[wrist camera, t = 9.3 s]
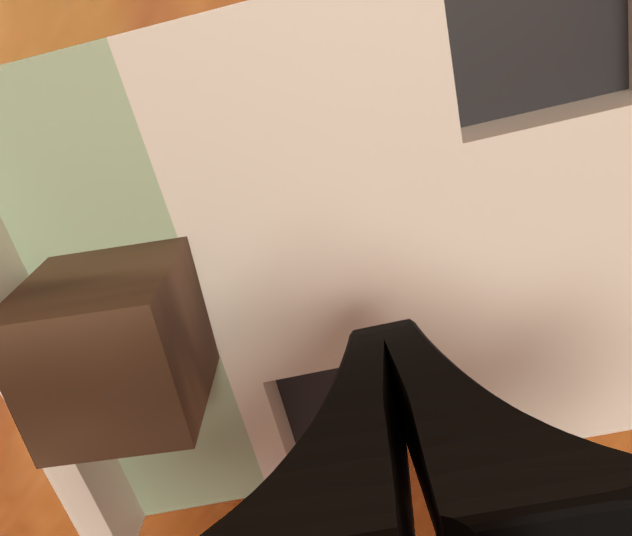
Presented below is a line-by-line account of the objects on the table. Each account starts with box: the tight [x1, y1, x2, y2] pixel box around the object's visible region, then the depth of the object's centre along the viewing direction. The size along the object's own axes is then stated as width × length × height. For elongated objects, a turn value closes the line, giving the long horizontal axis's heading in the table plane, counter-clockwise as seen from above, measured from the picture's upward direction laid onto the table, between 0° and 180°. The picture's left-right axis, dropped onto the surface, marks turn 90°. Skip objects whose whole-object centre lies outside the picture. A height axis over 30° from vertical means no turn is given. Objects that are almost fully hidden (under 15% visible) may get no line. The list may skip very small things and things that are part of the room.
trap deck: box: [0, 0, 632, 536], centre depth 16 cm, size 15×26×4 cm, turn 103°
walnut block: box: [0, 236, 220, 469], centre depth 15 cm, size 4×4×4 cm
